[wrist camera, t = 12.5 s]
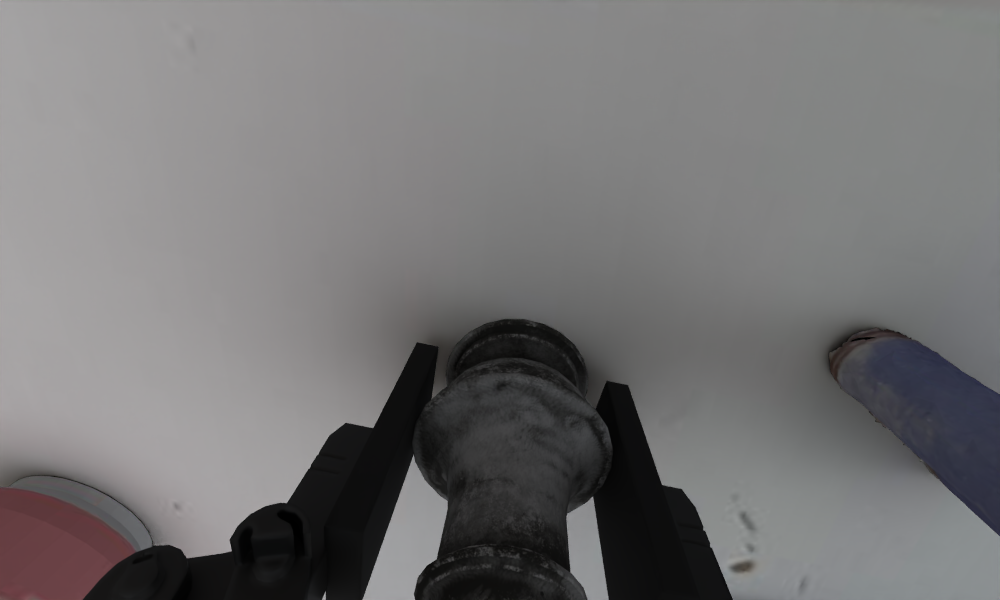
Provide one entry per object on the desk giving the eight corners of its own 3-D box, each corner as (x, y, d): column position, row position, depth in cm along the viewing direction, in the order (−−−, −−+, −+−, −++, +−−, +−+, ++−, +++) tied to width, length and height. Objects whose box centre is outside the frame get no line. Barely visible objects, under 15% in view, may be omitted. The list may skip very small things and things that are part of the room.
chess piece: (625, 345, 14) (975, 1262, 3) (556, 456, 16) (598, 1153, 5) (465, 287, 13) (139, 1123, 2) (421, 410, 16) (169, 1076, 5)
